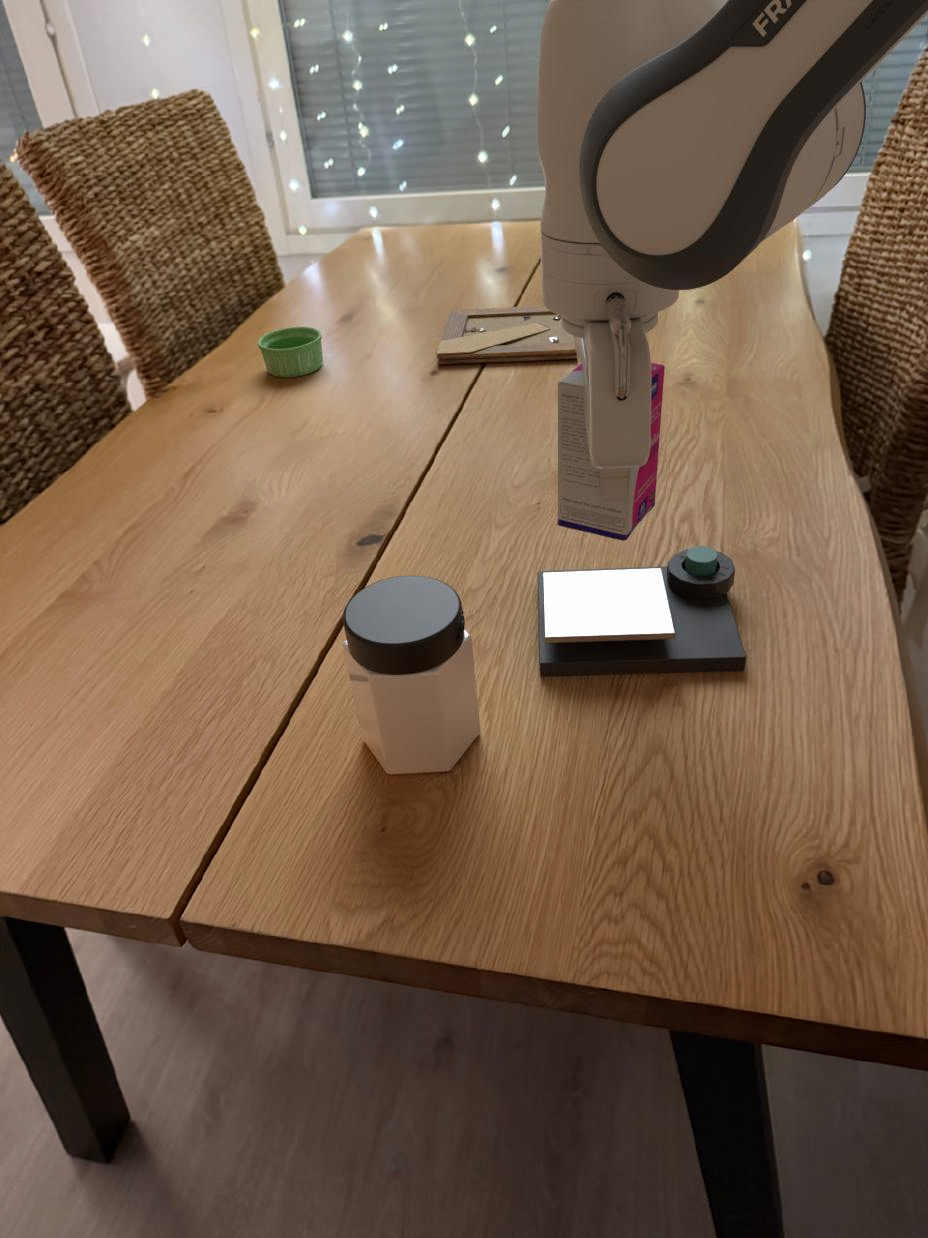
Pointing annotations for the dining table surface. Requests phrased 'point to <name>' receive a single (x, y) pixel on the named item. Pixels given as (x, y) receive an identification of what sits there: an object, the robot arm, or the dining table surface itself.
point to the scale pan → (606, 606)
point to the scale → (697, 645)
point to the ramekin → (292, 351)
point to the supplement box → (581, 478)
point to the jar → (411, 673)
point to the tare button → (701, 561)
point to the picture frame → (504, 336)
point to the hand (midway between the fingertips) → (607, 465)
